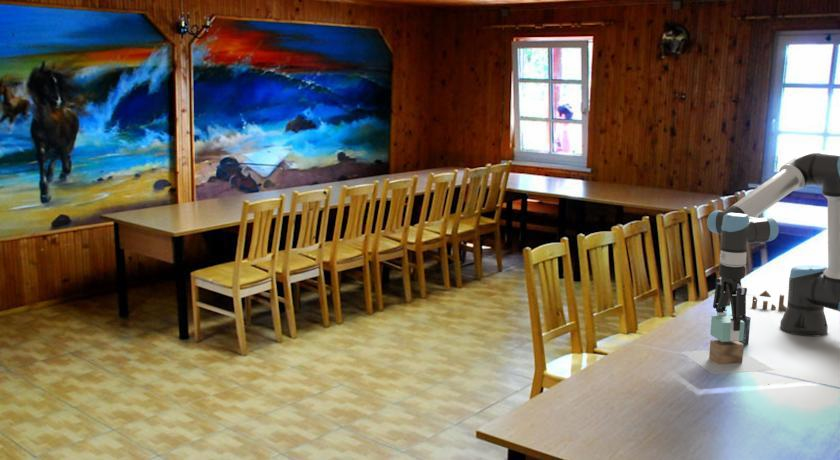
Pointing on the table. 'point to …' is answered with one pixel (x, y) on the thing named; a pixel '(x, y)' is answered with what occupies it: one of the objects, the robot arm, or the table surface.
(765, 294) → the wooden blocks
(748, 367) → the board
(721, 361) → the base brick
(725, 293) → the robot arm
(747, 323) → the box
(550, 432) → the table surface
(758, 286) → the table surface
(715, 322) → the teal brick
